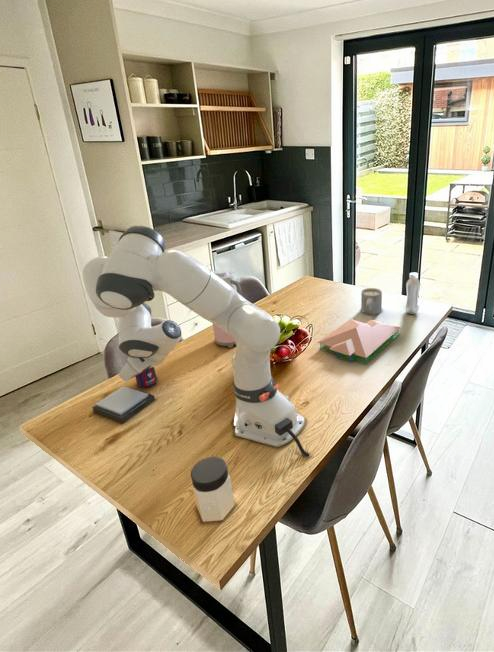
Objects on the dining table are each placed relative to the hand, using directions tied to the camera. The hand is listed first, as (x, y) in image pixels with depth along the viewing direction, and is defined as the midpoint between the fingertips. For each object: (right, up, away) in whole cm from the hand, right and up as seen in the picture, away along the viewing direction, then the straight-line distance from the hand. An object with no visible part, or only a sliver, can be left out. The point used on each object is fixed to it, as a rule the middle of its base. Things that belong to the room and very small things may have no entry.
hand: (140, 370), depth 145 cm
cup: (+1, -4, +2) cm, 5 cm away
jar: (+41, -25, -49) cm, 68 cm away
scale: (0, -10, -11) cm, 15 cm away
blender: (+28, +7, +28) cm, 40 cm away
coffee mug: (+90, +20, +52) cm, 106 cm away
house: (+82, +8, +23) cm, 86 cm away
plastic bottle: (+110, +20, +49) cm, 122 cm away
